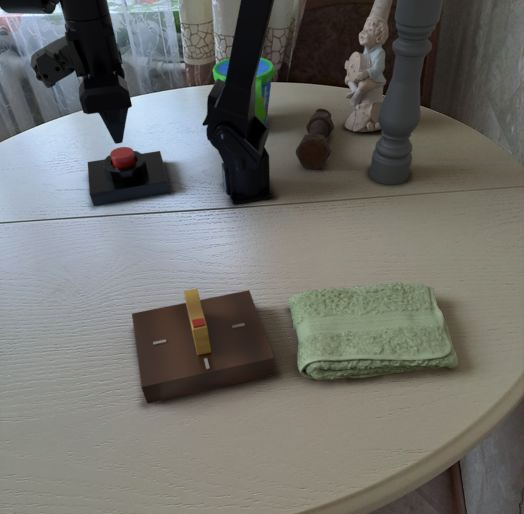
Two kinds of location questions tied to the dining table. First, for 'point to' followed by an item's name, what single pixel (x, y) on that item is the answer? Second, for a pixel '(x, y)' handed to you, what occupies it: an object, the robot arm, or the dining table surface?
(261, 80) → the snack cup
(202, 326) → the lock knob
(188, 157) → the dining table surface
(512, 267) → the dining table surface
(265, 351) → the panel
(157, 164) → the block
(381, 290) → the washcloth
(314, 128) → the bolt
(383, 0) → the figurine
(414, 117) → the candle holder
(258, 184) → the robot arm
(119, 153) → the release button
